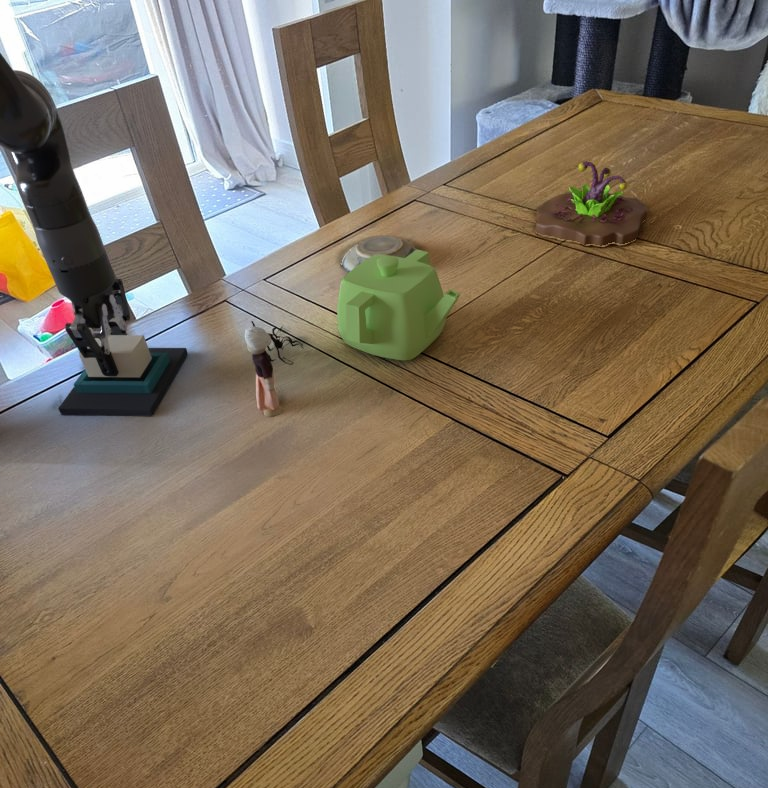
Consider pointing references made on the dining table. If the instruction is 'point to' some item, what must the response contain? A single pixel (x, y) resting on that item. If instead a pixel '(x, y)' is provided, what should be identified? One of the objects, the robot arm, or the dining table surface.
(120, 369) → the cream pad
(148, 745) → the dining table surface
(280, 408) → the grandmother figurine
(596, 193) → the plant
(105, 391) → the pad
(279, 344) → the creature
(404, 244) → the decorative bowl
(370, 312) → the teapot
